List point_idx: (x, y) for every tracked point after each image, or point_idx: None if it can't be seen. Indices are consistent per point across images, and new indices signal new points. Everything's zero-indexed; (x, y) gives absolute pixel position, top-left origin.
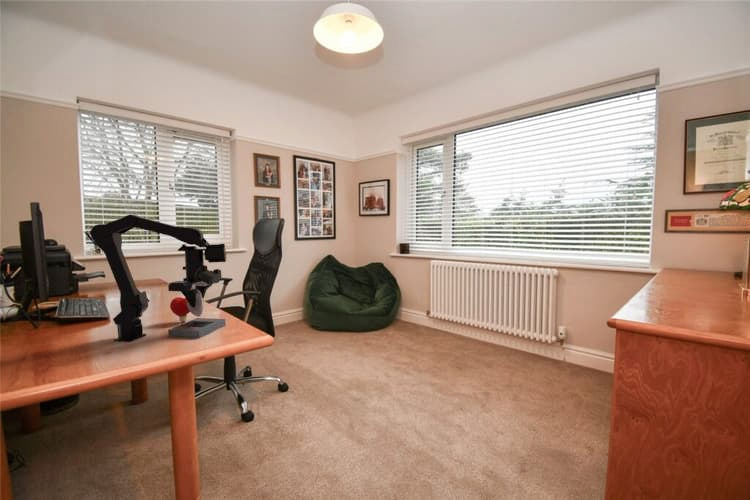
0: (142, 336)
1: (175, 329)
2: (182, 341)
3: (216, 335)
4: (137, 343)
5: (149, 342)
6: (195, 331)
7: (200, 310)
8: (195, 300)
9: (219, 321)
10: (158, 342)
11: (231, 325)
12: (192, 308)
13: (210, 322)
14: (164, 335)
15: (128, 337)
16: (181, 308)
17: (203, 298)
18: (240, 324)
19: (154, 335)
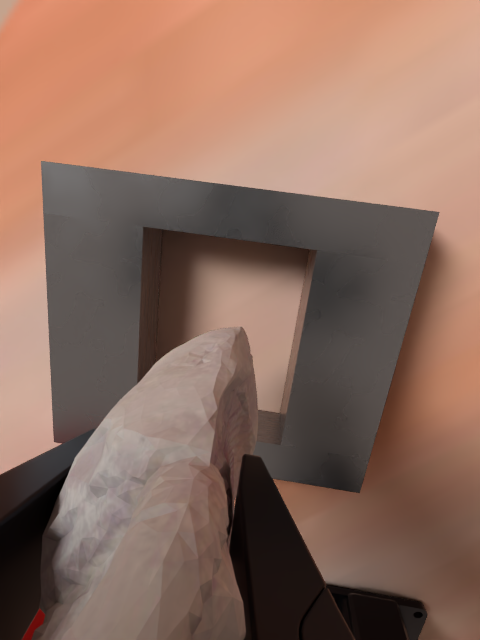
0: (344, 589)
1: (360, 445)
2: (467, 309)
3: (349, 92)
4: (453, 555)
5: (446, 505)
6: (425, 253)
7: (244, 350)
8: (243, 529)
9: (126, 178)
10: (457, 456)
11: (68, 106)
12: (232, 474)
13: (143, 269)
14: (316, 492)
15: (408, 636)
16: (35, 621)
17: (3, 476)
18: (26, 20)
19: (312, 544)
